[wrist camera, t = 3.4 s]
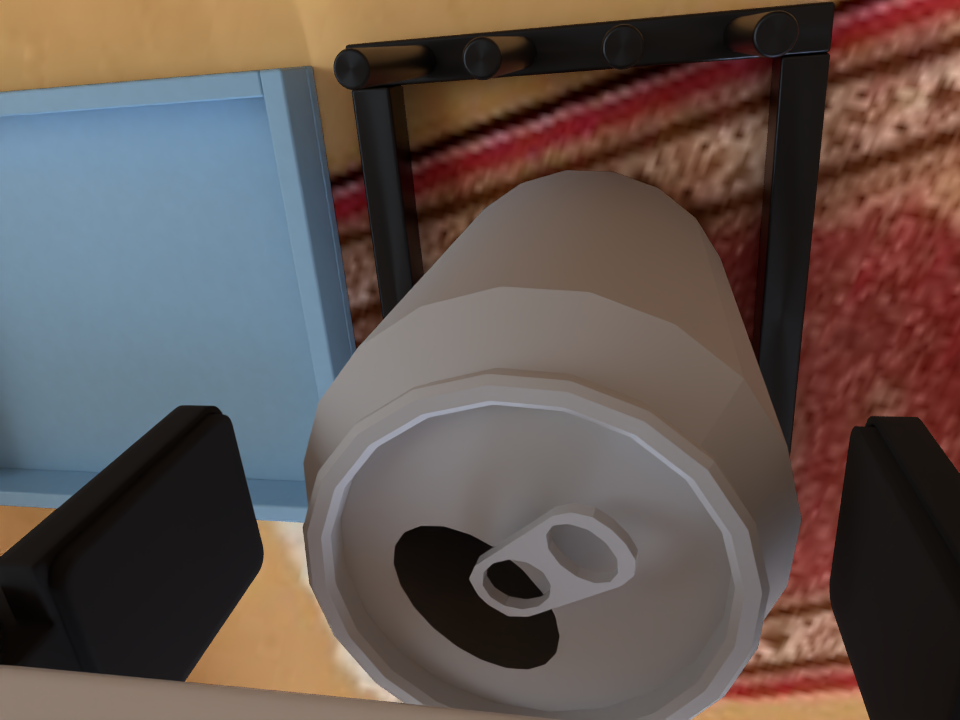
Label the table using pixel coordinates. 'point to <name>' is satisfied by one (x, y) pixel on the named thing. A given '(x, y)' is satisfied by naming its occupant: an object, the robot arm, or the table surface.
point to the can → (555, 469)
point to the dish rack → (620, 45)
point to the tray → (166, 276)
